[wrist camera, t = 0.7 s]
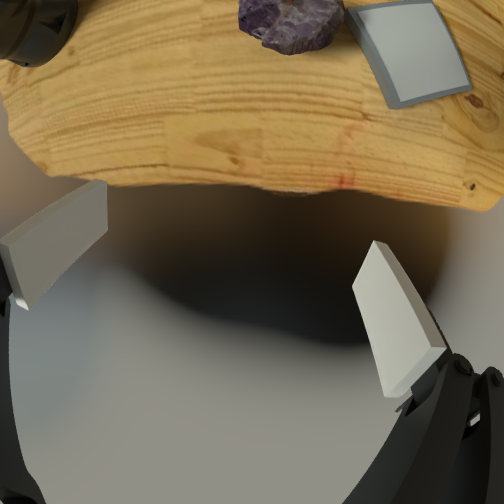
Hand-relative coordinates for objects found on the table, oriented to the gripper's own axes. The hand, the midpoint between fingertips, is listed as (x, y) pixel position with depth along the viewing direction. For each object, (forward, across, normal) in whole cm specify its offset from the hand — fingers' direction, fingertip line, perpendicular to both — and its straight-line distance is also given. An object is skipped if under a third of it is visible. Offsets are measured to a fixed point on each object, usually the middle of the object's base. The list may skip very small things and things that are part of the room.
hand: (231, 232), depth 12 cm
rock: (+24, 0, +17) cm, 30 cm away
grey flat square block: (+24, +16, +21) cm, 35 cm away
